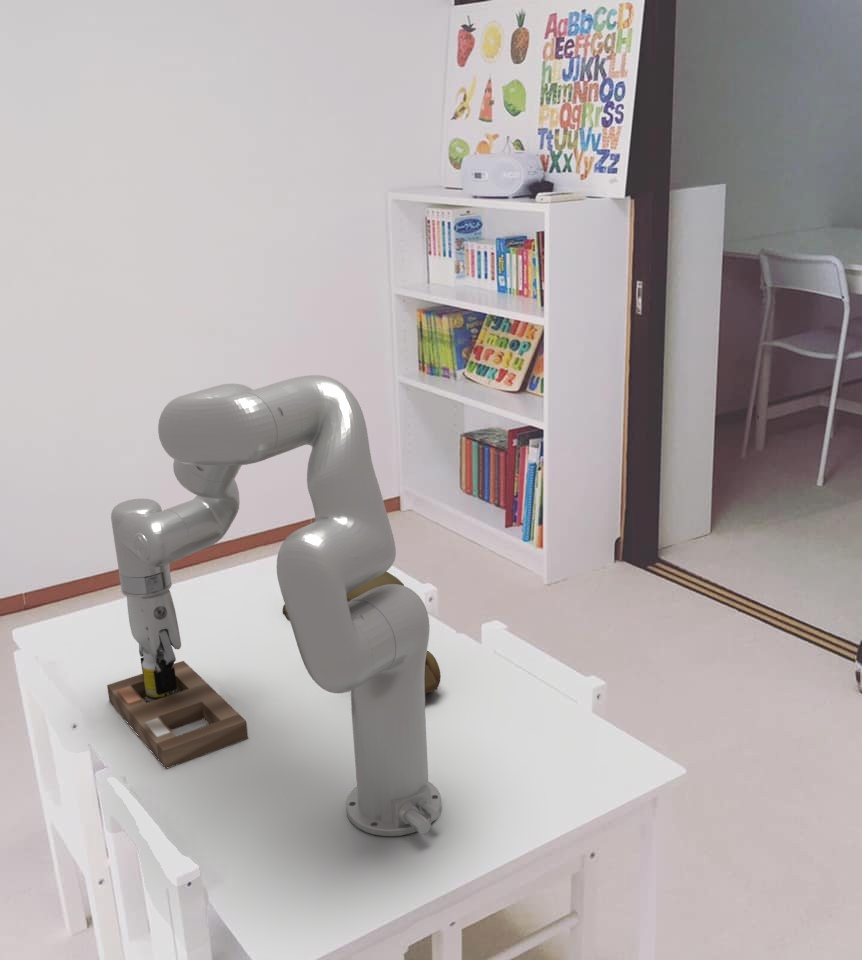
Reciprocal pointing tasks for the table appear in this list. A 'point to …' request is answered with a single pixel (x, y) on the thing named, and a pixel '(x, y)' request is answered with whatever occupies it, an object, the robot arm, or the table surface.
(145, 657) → the supplement bottle
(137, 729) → the socket block
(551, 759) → the table surface
